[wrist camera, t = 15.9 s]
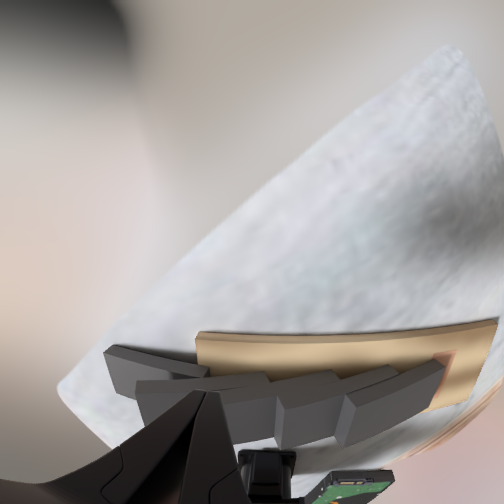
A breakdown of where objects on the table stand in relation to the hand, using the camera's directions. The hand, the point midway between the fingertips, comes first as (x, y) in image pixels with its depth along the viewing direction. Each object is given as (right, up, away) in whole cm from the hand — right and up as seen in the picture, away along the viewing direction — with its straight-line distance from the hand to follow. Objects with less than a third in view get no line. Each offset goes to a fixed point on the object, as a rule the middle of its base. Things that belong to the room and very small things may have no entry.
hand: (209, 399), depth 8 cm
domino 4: (+13, -7, +12) cm, 19 cm away
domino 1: (-2, -7, +13) cm, 15 cm away
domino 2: (+2, -7, +13) cm, 15 cm away
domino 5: (+18, -8, +12) cm, 23 cm away
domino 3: (+8, -7, +12) cm, 16 cm away
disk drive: (+14, -31, +20) cm, 40 cm away
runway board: (+11, -7, +14) cm, 19 cm away
